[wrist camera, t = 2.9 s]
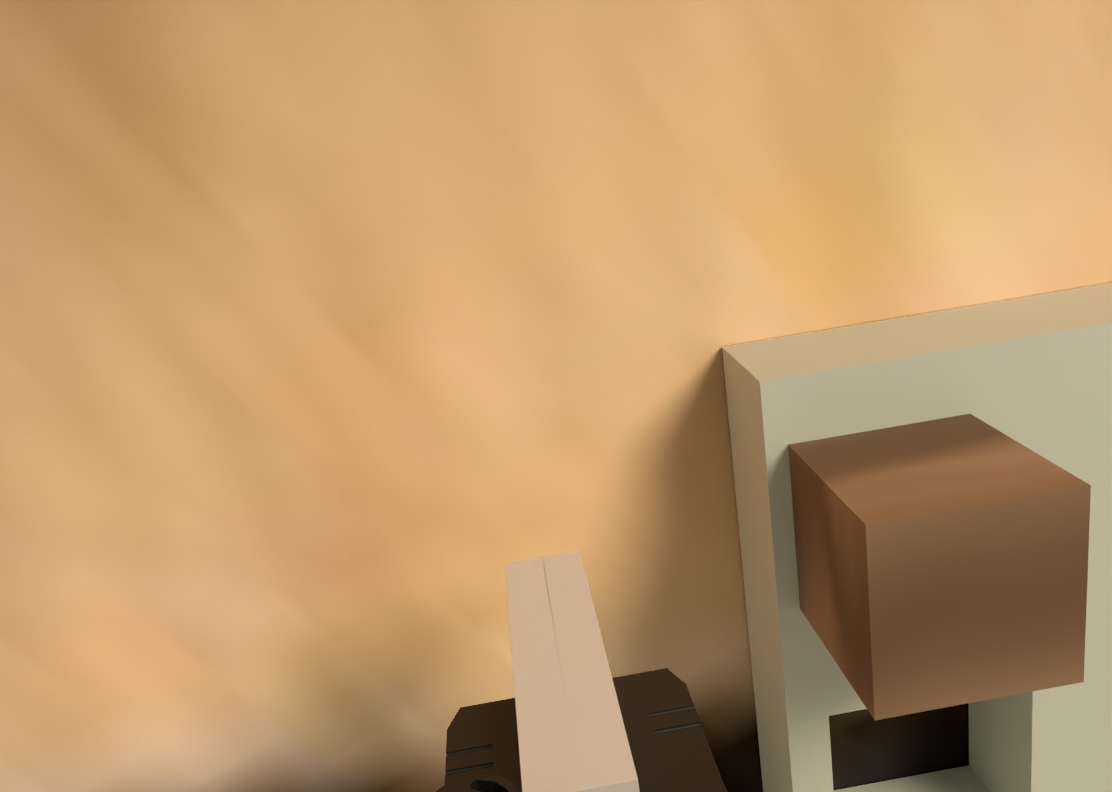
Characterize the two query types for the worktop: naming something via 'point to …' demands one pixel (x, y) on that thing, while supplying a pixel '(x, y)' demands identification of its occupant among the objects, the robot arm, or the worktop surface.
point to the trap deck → (904, 398)
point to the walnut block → (941, 563)
